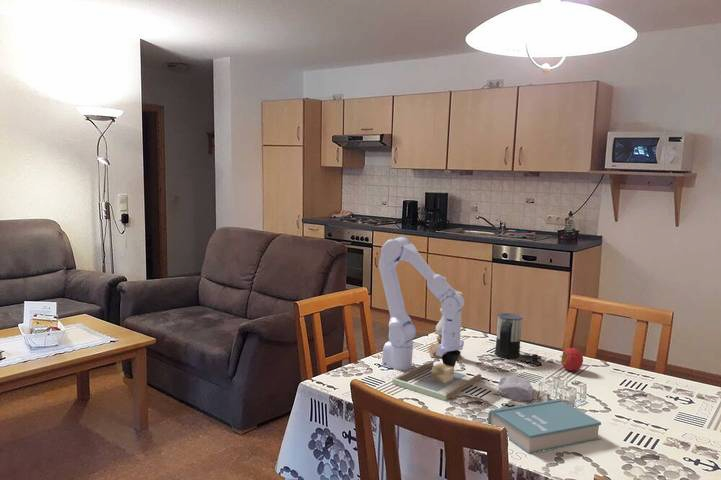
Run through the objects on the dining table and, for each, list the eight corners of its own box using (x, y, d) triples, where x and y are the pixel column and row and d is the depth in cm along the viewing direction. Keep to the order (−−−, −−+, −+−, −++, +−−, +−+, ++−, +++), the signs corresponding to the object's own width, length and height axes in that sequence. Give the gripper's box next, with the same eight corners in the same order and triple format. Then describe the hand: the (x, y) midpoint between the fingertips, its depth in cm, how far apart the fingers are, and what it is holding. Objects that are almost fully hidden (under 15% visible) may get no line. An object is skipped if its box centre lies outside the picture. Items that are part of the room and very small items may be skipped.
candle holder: (462, 363, 196) (466, 296, 193) (430, 362, 196) (434, 294, 193) (457, 353, 207) (461, 289, 204) (427, 352, 207) (431, 288, 204)
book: (528, 455, 134) (530, 435, 134) (487, 426, 149) (488, 408, 148) (599, 441, 143) (601, 422, 143) (554, 414, 158) (555, 397, 157)
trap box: (392, 388, 171) (392, 378, 171) (430, 369, 189) (431, 360, 189) (444, 405, 160) (445, 395, 160) (480, 383, 178) (481, 374, 178)
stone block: (500, 404, 167) (535, 402, 165) (498, 389, 167) (533, 386, 165) (498, 391, 179) (530, 388, 177) (496, 376, 179) (528, 373, 177)
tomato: (585, 346, 194) (563, 340, 194) (588, 365, 188) (565, 360, 188) (575, 358, 199) (554, 353, 199) (577, 377, 194) (555, 372, 194)
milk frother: (493, 349, 213) (496, 311, 211) (536, 353, 211) (539, 315, 209) (496, 362, 199) (499, 321, 197) (542, 366, 197) (546, 325, 195)
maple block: (431, 379, 176) (432, 366, 176) (439, 374, 180) (440, 362, 179) (445, 383, 173) (446, 370, 173) (453, 378, 177) (454, 366, 176)
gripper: (451, 338, 170) (448, 382, 171) (473, 329, 181) (470, 370, 183) (431, 334, 174) (428, 376, 176) (453, 325, 185) (451, 364, 187)
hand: (448, 372), depth 180 cm, fingers closed
